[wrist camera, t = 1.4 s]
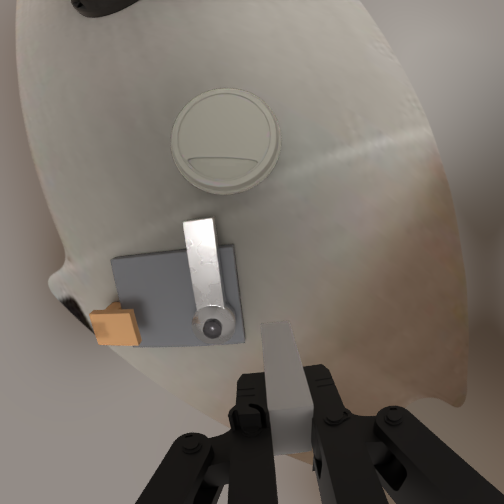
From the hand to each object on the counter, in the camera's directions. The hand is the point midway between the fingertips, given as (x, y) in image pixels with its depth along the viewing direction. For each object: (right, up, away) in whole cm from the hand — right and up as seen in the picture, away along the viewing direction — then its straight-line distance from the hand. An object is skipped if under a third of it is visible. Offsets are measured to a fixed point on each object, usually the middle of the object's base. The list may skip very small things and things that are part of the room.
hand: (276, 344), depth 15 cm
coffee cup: (-3, +16, +16) cm, 23 cm away
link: (-6, +2, +17) cm, 18 cm away
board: (-10, -1, +19) cm, 22 cm away
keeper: (-17, -2, +20) cm, 26 cm away
